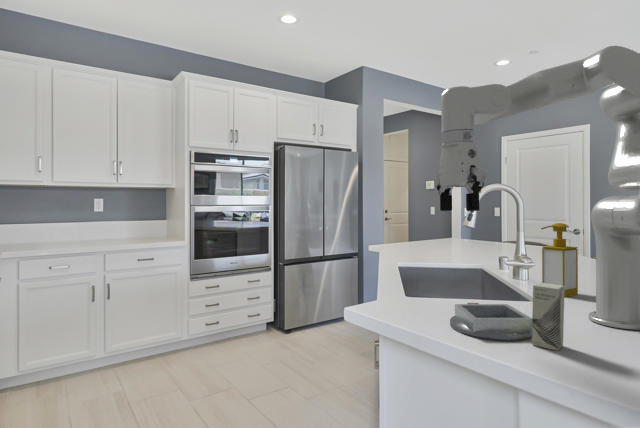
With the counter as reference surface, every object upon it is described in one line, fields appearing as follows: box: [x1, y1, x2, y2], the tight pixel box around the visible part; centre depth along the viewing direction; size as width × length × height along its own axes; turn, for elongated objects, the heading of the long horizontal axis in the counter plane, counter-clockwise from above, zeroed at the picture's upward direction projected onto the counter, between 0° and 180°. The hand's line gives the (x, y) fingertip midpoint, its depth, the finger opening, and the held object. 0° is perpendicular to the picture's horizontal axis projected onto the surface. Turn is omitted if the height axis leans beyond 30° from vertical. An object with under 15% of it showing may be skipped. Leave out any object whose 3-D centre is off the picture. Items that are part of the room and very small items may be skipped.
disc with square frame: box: [449, 302, 532, 342], centre depth 94 cm, size 19×22×4 cm
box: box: [531, 282, 565, 351], centre depth 80 cm, size 5×4×13 cm
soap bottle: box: [541, 222, 579, 298], centre depth 125 cm, size 7×13×24 cm, turn 115°
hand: (458, 210), depth 92 cm, fingers open, 9 cm apart
